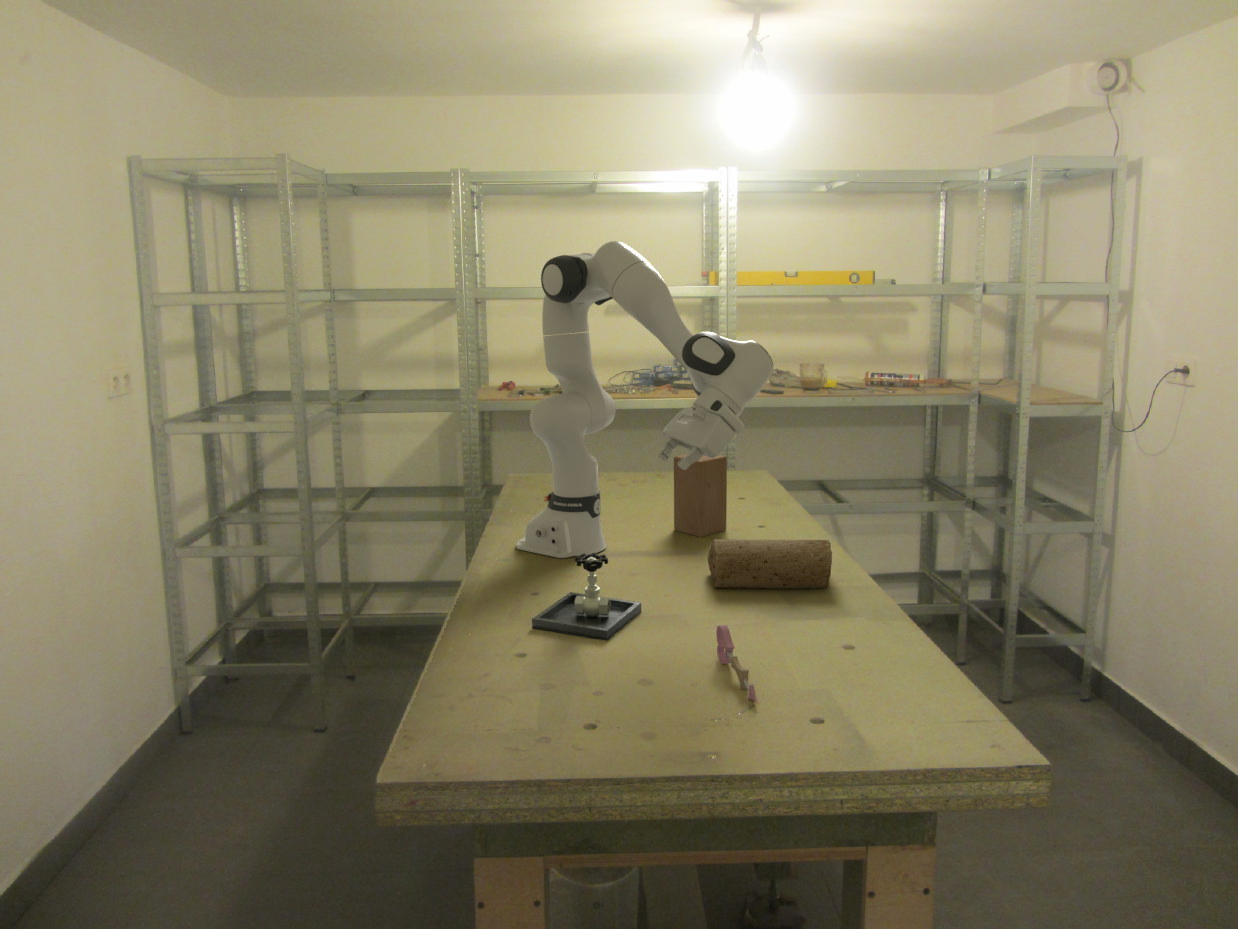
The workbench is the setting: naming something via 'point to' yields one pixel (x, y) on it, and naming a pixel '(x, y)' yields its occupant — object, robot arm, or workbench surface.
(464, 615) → the workbench surface
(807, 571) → the core sample
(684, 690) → the workbench surface
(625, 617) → the dark gray tray
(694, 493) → the wooden block
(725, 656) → the decorative key
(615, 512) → the workbench surface
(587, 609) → the valve
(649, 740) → the workbench surface
